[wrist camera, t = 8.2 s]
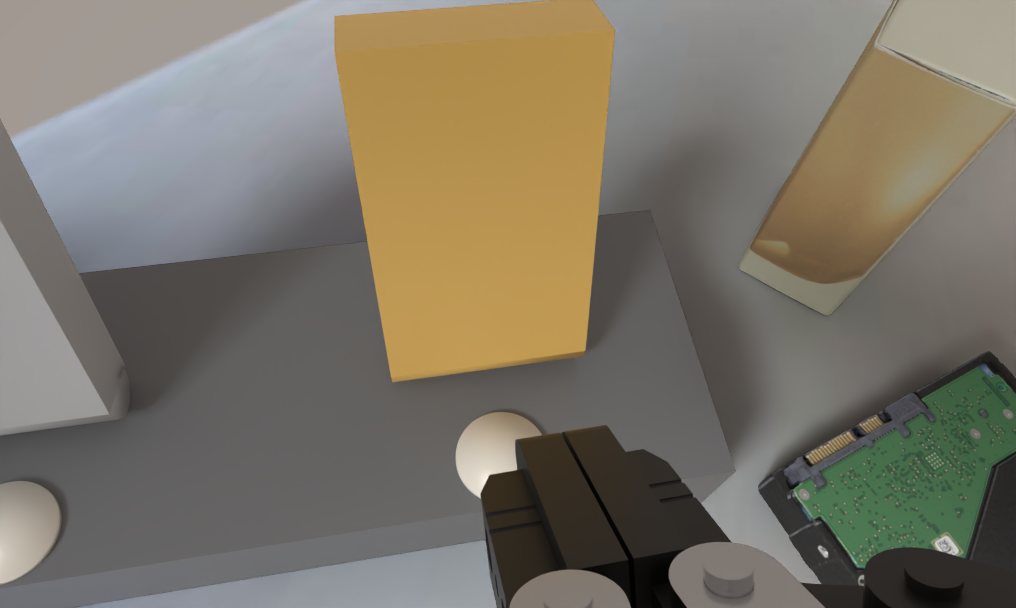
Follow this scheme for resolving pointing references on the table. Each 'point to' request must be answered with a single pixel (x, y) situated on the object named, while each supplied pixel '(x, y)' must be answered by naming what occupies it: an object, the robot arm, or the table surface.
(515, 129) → the amber switch
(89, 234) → the table surface
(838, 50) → the table surface
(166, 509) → the dark grey flat block
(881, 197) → the skincare box
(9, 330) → the grey switch
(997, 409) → the disk drive
